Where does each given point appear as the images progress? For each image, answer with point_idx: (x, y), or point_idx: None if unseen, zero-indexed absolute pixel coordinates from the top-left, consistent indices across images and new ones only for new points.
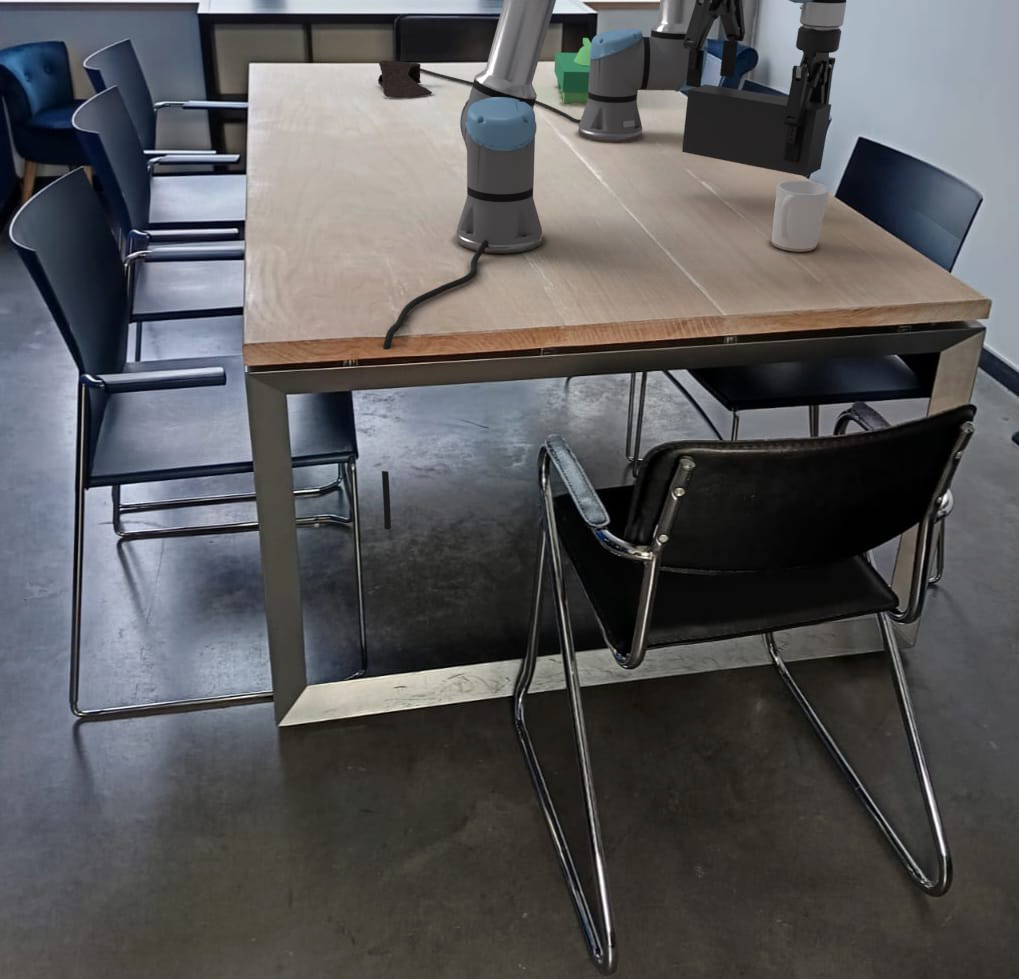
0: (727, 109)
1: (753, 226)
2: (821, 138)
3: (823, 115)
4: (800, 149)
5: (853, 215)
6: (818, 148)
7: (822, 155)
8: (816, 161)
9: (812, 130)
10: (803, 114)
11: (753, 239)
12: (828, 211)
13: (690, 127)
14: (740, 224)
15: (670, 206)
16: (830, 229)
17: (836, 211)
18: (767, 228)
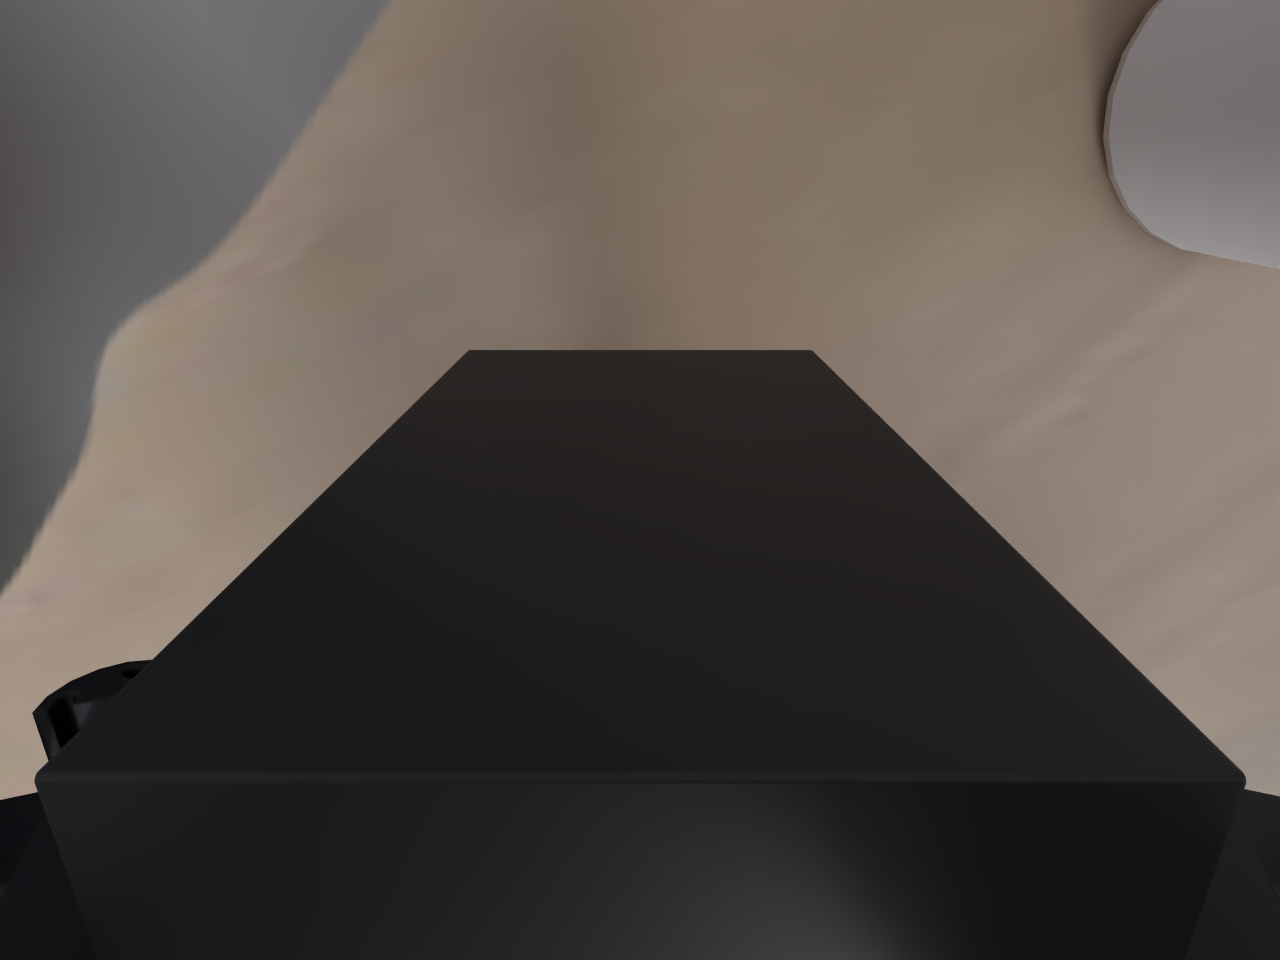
0: None
1: (989, 459)
2: (535, 448)
3: (587, 634)
4: None
5: (362, 47)
6: (598, 410)
7: (450, 380)
8: (602, 371)
9: (987, 532)
10: (1217, 906)
11: (1226, 357)
12: (410, 231)
13: None
14: (993, 527)
15: None
16: (770, 47)
17: (369, 187)
18: (982, 383)
